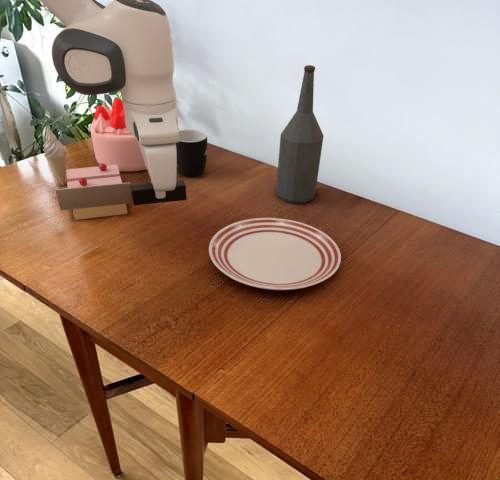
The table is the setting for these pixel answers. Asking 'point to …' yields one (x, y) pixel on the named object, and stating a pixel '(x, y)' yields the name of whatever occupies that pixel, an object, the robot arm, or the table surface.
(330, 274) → the dinner plate
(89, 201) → the knife
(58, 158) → the ice cream cone
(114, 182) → the cake
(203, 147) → the mug
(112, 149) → the cake
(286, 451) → the table surface
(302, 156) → the bottle
